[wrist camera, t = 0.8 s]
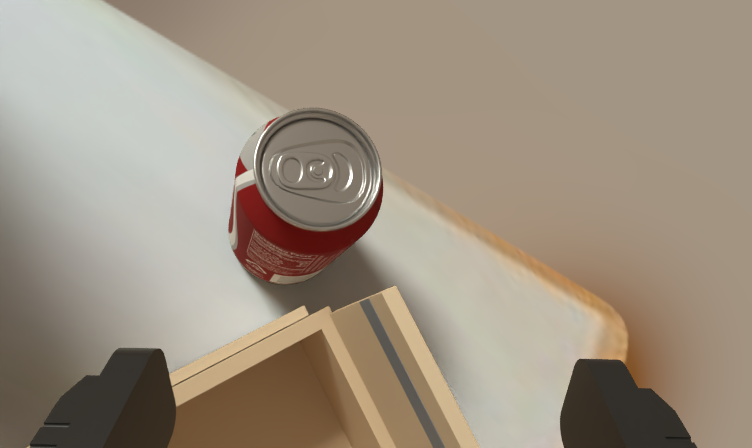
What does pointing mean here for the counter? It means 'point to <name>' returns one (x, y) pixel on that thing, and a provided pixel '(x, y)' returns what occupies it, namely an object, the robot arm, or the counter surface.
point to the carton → (277, 392)
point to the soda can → (303, 194)
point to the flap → (401, 373)
